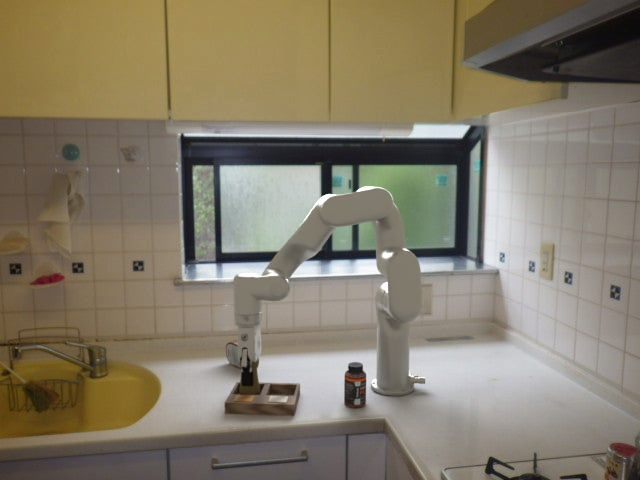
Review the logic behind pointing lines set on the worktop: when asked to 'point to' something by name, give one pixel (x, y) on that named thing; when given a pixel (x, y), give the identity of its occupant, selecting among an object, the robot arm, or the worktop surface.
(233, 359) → the tin
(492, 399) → the worktop surface
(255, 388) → the olive piece
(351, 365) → the supplement bottle
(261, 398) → the socket block
